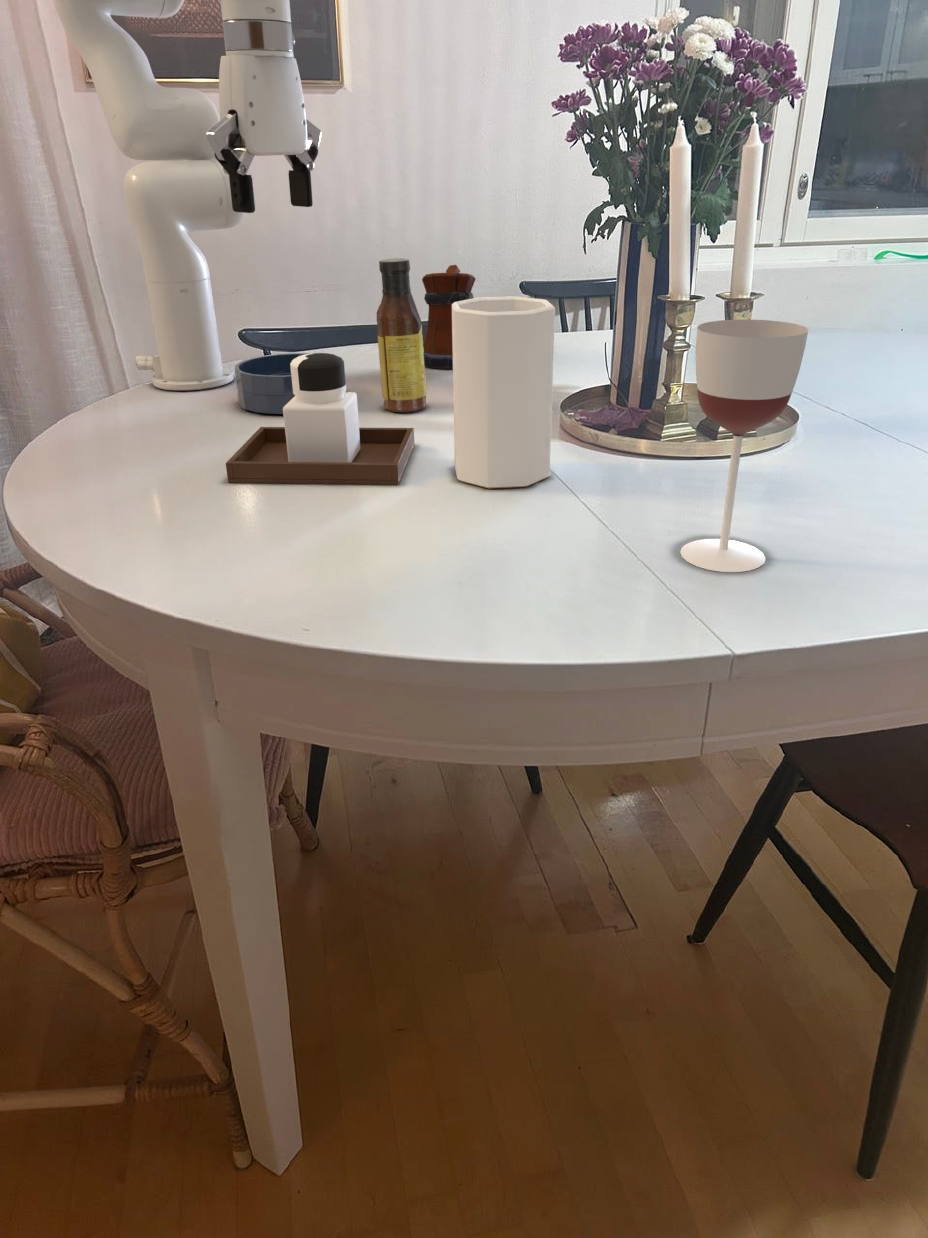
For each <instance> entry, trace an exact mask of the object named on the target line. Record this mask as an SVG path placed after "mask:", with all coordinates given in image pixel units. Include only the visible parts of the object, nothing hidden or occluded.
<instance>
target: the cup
mask: <svg viewBox="0 0 928 1238" xmlns="http://www.w3.org/2000/svg"><path fill="white" fill-rule="evenodd" d="M555 323H556V307H555V306H554V305H553V304H552V303H550V302H549V300H547V299H544V298H534V297H526V296H517V295H515V296H513V295H512V296H511V295H510V296H481V297H480V296H479V297H474V298H473V299H468V300H463V301H458V302H454V303H453V304H452V346H453V369H452V390H453V392H452V394H453V395H452V397H453V441H454V443H453V444H454V470H455V474H456V478H457V480H458V481H459V482H462V483H466V484H470V485H473V486H478V487H482V488H486V489H488V490H489V489H490V490H491V489H513V488H527V487H529V486H531V485H534V484H535V483H539V482H540V481H542V480H545V479H547V478H549V477H550V475H551V450H552V449H551V448H552V419H553V388H554V387H553V386H554V356H555V355H554V354H555V351H554V350H555V327H556V325H555Z"/></svg>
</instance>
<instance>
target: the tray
mask: <svg viewBox="0 0 928 1238" xmlns="http://www.w3.org/2000/svg"><path fill="white" fill-rule="evenodd" d="M359 434H360V451H359V452H358V454H357V455H356V457H355V458H354V460H353V461H352V463H345V462H289V461H288V452H287V443H286V434H285V426H260V427H259V428H258V429H257V430H256V431H255V432H254V433H253V435H252V434H251V436H250V437H249V438H248V439H247V440H246V441H245V442H244V443H243V445H242V446H241V447H239V449H238V450H236V451H235V453H233V455H232V456H231V457H230V458H229V459H228V460H227V461H226V462H225V470H226V475H227V483H229V484H230V483H231V484H234V483H235V484H239V483H240V484H244V483H246V484H309V485H310V484H311V485H312V484H314V485H316V484H319V485H320V484H321V485H323V484H324V485H394V486H395V485H399V484H400V482H401V479H402V477H403V475H404V472H405V470H406V467H407V465H408V463H409V460H410V458H411V455H412V453H413V450H414V448H415V428H414V427H359Z"/></svg>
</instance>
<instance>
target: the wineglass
mask: <svg viewBox="0 0 928 1238" xmlns="http://www.w3.org/2000/svg"><path fill="white" fill-rule="evenodd" d="M808 333H809V329H808V327H806V326H804V325H801V324H797V323H792V322H787V321H780V320H769V319H723V320H714V321H708V322H704V323H700V324H699V325H698V326H697V328H696V339H695V351H694V352H695V353H694V356H695V378H696V389H697V390H696V391H697V397H698V398H697V399H698V403H699V407H700V409H701V411H702V413H703V414H704V415H705V416H706V417H707V418H708V419H709V420H710V421H711V422H713V423H714V424H715V425H718V426H719V427H721V428H722V429H724V430H726V431H727V432H729V433H731V434H732V435H733V436H732V437H733V438H732V444H731V446H732V447H731V452H730V453H731V454H730V460H729V468H728V476H727V483H726V491H725V497H724V498H725V500H724V508H723V515H722V522H721V530H720V538H704V539H703V538H702V539H697V540H693V541H690V542H688V543H686V544H684V545H682V546H681V549H680V552H679V553H680V555H681V558H682V559H683V560H685V561H686V562H687V563H689V564H691V565H693V566H696V567H697V568H701V569H704V570H707V571H708V570H709V571H713V572H714V571H715V572H719V573H743V572H749V571H752V570H756V569H759V568H760V567H761V566H763V565H765V563H766V560H767V559H766V556H765V554H764V552H763V551H761V550H760V549H758V548H757V547H755V546H753V545H750V544H748V543H746V542H740V541H737V540H732V539H730V535H731V527H732V520H733V512H734V504H735V497H736V489H737V484H738V483H737V482H738V474H739V466H740V461H741V452H742V445H743V444H742V443H743V437H744V435H746V434H747V433H750V432H752V431H754V430H757V429H759V428H762V427H764V426H766V425H767V424H768V425H769V424H770V423H771V422H774V421H775V420H776V419H777V418H778V417H779V416H781V415H782V413H783V412H784V411H785V410H786V408H787V406H788V404H789V402H790V399H791V396H792V394H793V391H794V388H795V386H796V383H797V380H798V377H799V373H800V369H801V366H802V362H803V357H804V354H805V349H806V345H807V340H808Z"/></svg>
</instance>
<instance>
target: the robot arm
mask: <svg viewBox="0 0 928 1238" xmlns="http://www.w3.org/2000/svg"><path fill="white" fill-rule="evenodd" d="M52 1H53V3H54V7H55V10H56V12H57V15H58V18H59V20H60V22H61V24H62V26H63V28H64V30H65V32H66V34H67V36H68V37H69V39H70V41H71V43H72V44H73V47H74V48H75V49H76V51H77V52H78V54H79V55H80V57H81V60H83V63H84V64H85V66H86V68H87V69H88V72H89V75H90V77H91V80H92V83H93V86H94V89H95V92H96V95H97V97H98V100H99V103H100V106H101V108H102V111H103V114H104V116H105V119H106V123H107V124H108V128H109V130H110V133H111V136H112V138H113V140H114V142H115V144H116V146H117V148H118V149H119V151H120V152H121V153H122V154H123V155H124V156H125V157H127V158H129V159H131V160H135V161H143V162H141V163H138V164H136V165H134V166H132V167H131V168H129V169H128V171H127V172H126V173H125V175H124V178H123V182H122V193H123V198H124V203H125V205H126V209H127V212H128V215H129V218H130V220H131V224H132V227H133V230H134V232H135V237H136V241H137V245H138V249H139V252H140V253H139V254H140V258H141V263H142V268H143V269H142V270H143V274H144V280H145V285H146V292H147V298H148V303H149V309H150V315H151V322H152V327H153V332H154V338H155V344H156V349H157V350H156V351H157V353H155V354H154V355H152V356H150V355H136V356H135V359H134V362H135V366H136V368H137V369H138V370H139V371H148V370H151V371H153V372H154V375H153V376H152V377H151V380H152V381H151V382H152V385H153V386H154V387H155V388H157V389H160V390H165V391H166V390H167V391H196V390H197V391H198V390H207V389H212V388H217V387H221V386H225V385H227V384H229V383H231V382H233V380H234V379H235V376H234V371H233V370H232V369H230V368H228V367H223V362H222V354H221V347H220V340H219V332H218V325H217V318H216V311H215V304H214V303H215V302H214V296H213V289H212V282H211V274H210V267H209V264H208V261H207V258H206V257H205V255H204V253H203V252H202V251H201V249H200V248H199V247H198V246H197V245H196V243H195V242H194V241H193V240H192V238H191V237H190V236H189V234H188V233H194V232H199V231H200V232H201V231H212V230H215V231H216V230H226V229H231V228H234V227H237V226H238V225H239V224H241V223H242V222H243V220H244V219H245V217H246V214H254V213H255V211H256V204H255V192H254V182H253V177H252V174H247V173H248V171H249V169H250V166H251V164H252V163H253V160H254V158H255V157H266V156H268V157H269V156H284V158H285V159H286V161H287V163H288V164H289V165H290V167H291V169H289V170H288V184H289V187H288V188H289V199H290V204H291V205H292V206H293V207H301V208H302V207H303V208H311V207H313V206H314V205H313V204H314V201H313V188H312V175H311V174H312V173H311V172H312V171H314V169H315V163H314V162H315V161H316V160H317V157H318V155H319V147H320V142H321V138H322V131H321V129H320V128H318V127H317V126H316V125H315V124H313V123H312V122H311V121H310V120H308V119H307V113H306V106H305V105H306V104H305V97H304V91H303V85H302V80H301V75H300V71H299V66H298V62H297V59H296V58H295V56H294V46H295V44H296V37H295V36H294V34H293V30H292V17H291V3H290V0H220V10H221V11H220V12H221V19H222V30H223V41H224V50H225V55H221V56H220V60H219V61H220V62H219V72H218V107H219V109H217V106H216V105H215V104H214V102H213V101H212V100H211V98H209V96H208V95H207V94H205V92H202V91H200V90H199V89H195V88H189V87H171V86H170V87H168V86H167V87H166V86H162V85H161V84H159V82H157V80H156V78H155V76H154V73H153V70H152V68H151V64H150V62H149V61H150V60H149V59H148V56H147V54H146V52H144V50H143V49H142V48H141V46H140V45H139V44H138V42H137V41H136V40H135V39H134V38H133V37H132V36H131V35H130V34H129V33H128V32H127V31H126V30H125V29H124V28H123V27H122V26H120V25H119V24H118V23H117V22H116V21H115V20H113V18H112V16H119V17H135V18H147V19H149V18H150V19H168V18H171V17H173V16H175V15H176V14H177V13H178V12H179V11H180V10H181V8H182V6H183V4H184V2H185V0H52Z"/></svg>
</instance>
